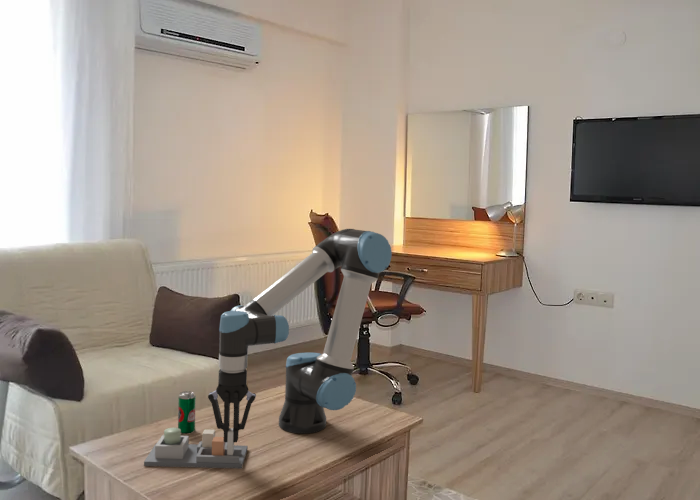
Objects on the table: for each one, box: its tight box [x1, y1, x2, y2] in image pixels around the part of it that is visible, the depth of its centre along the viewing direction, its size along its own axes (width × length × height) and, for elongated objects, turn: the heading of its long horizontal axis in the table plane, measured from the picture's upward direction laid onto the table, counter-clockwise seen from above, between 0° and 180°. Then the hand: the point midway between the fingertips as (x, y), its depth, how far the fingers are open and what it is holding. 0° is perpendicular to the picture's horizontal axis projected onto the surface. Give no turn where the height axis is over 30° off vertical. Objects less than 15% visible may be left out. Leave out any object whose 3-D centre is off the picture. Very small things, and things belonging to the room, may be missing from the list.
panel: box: [143, 434, 248, 469], centre depth 176 cm, size 26×12×5 cm, turn 92°
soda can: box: [177, 390, 197, 435], centre depth 194 cm, size 5×5×12 cm
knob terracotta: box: [212, 436, 225, 456], centre depth 174 cm, size 3×3×5 cm
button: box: [163, 427, 182, 444], centre depth 176 cm, size 4×4×3 cm
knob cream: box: [201, 428, 216, 447], centre depth 179 cm, size 3×3×5 cm
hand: (230, 453), depth 174 cm, fingers closed
